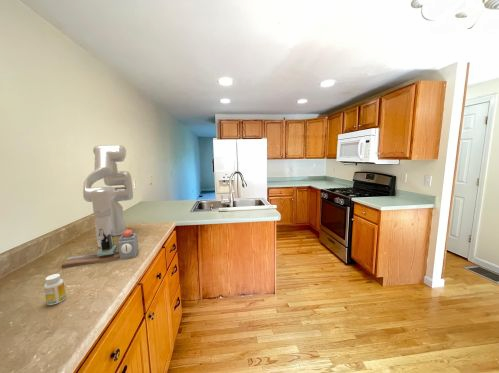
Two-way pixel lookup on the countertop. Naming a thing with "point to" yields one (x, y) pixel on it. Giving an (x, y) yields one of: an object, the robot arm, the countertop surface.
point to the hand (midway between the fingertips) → (107, 246)
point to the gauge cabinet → (128, 246)
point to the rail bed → (90, 259)
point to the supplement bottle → (54, 289)
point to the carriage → (107, 251)
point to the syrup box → (100, 240)
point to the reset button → (127, 233)
